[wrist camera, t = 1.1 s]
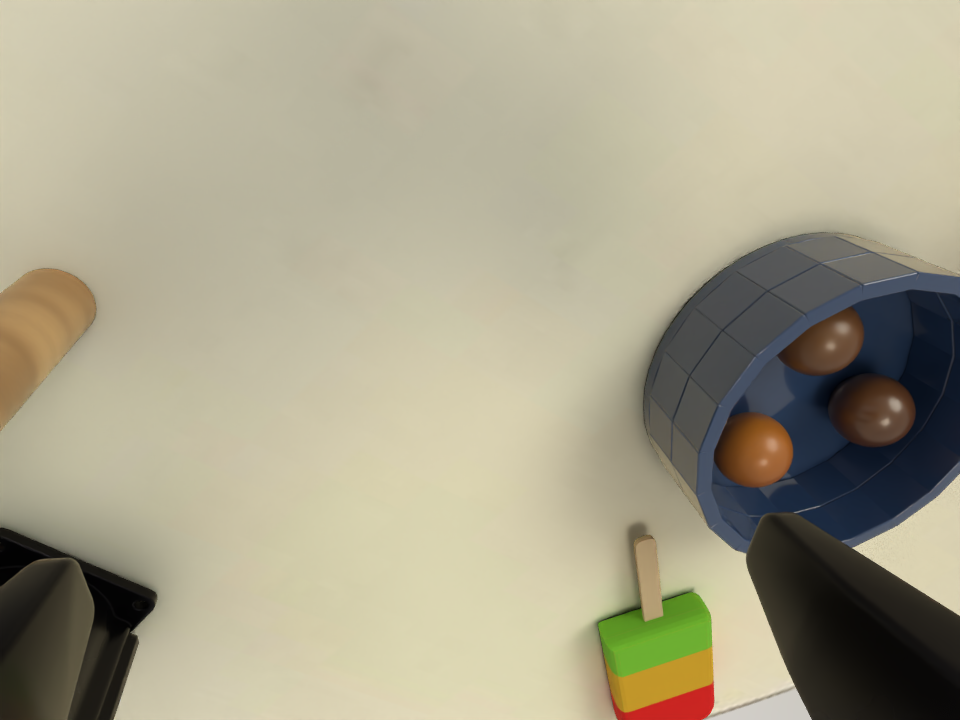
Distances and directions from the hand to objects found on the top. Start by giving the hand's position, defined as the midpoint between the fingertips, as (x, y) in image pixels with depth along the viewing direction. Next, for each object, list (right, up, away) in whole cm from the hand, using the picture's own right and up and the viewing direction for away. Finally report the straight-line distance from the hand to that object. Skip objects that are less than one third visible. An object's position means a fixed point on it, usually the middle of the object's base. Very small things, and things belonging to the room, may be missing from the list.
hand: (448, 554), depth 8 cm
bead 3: (+16, +1, +17) cm, 23 cm away
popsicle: (+9, -11, +24) cm, 28 cm away
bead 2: (+13, +3, +14) cm, 19 cm away
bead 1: (+11, -1, +16) cm, 20 cm away
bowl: (+13, +2, +18) cm, 22 cm away
